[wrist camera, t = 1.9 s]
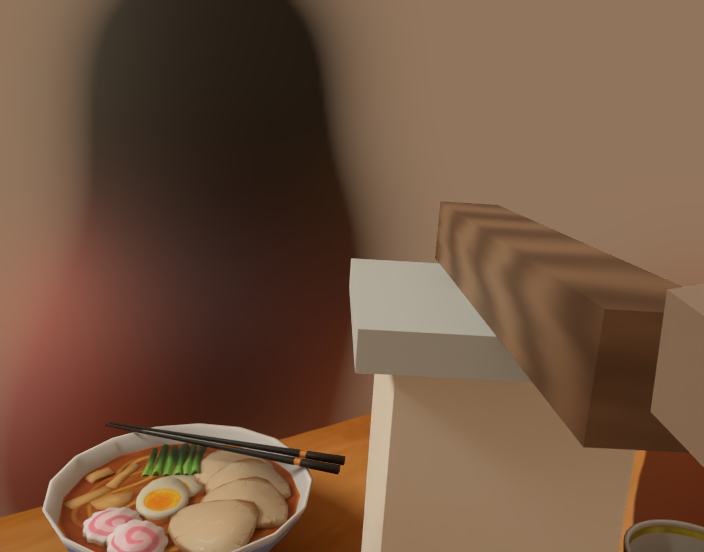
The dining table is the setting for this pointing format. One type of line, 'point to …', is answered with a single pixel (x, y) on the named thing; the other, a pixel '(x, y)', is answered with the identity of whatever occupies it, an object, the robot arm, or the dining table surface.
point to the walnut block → (565, 320)
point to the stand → (467, 431)
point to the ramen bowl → (183, 491)
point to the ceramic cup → (664, 537)
